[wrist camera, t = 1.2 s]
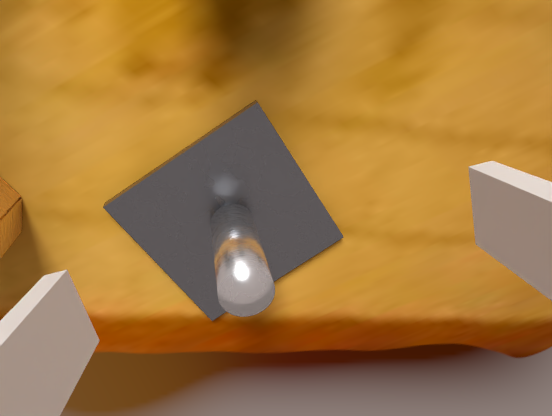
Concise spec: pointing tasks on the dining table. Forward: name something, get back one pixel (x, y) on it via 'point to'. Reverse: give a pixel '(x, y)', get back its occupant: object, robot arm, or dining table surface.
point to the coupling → (9, 216)
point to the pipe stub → (227, 216)
